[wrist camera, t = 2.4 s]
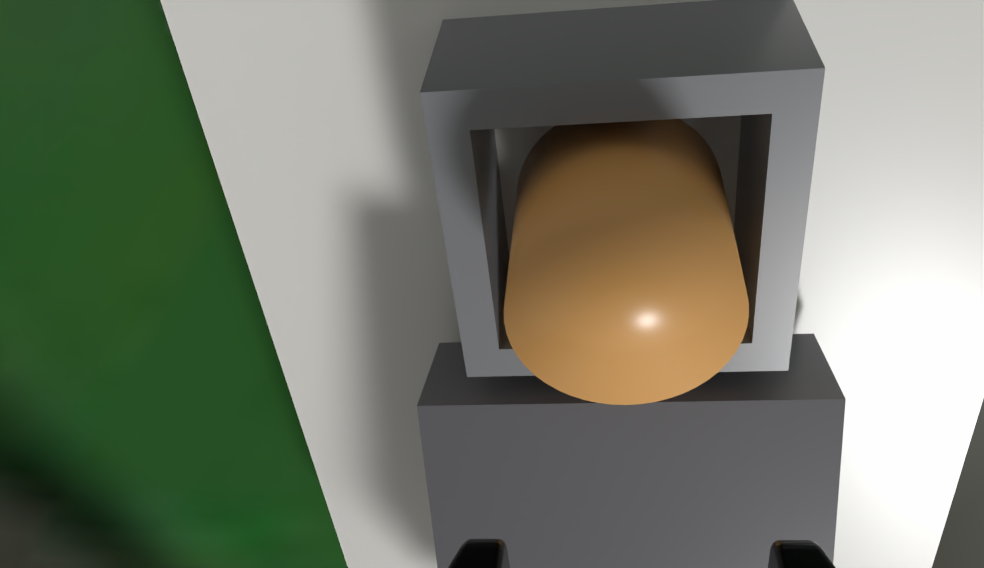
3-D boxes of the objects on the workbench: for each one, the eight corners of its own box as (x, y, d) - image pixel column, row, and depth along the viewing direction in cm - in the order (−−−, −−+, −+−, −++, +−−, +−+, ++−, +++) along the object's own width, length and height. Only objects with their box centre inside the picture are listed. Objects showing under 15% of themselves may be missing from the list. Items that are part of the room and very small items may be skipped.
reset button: (718, 273, 15) (741, 402, 13) (525, 279, 16) (514, 406, 13) (727, 98, 13) (757, 212, 11) (508, 111, 14) (491, 224, 11)
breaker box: (863, 547, 27) (926, 772, 22) (402, 545, 29) (362, 753, 24) (1031, -196, 15) (1253, -76, 10) (225, -121, 17) (71, 14, 12)
